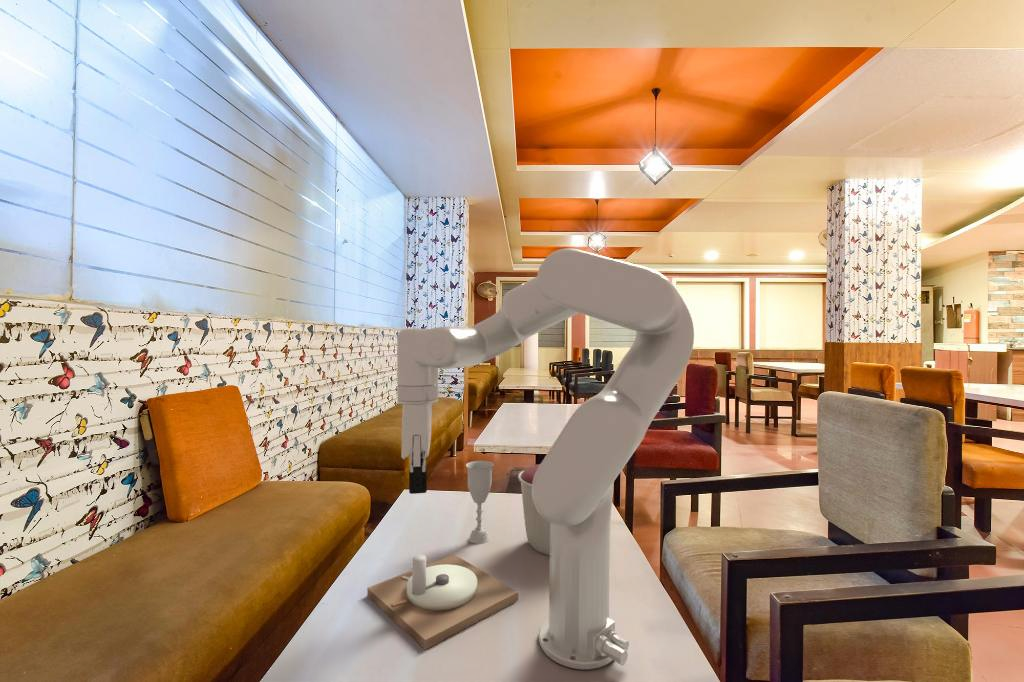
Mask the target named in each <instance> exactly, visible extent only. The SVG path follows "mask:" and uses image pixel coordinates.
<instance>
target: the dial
mask: <svg viewBox="0 0 1024 682" xmlns="http://www.w3.org/2000/svg"><path fill="white" fill-rule="evenodd" d="M426 565H427V557H426V555H424V554H418V555H415V556H413V557H412V566H411V567H412V569H411V571H412V576H411V577H410V578H409V580H408V582H407V598H408V600H409V601H410V602H411V603H412V604H413V605H415V606H417V607H419V608H422V609H427V610H448V609H453V608H456V607H459V606H462V605H464V604H466V603H467V602H469V601H470V600H471V599H472V598H473V597H474V596H475V594H476V592H477V577H476V575H475V574H474V573H473V572H472V571H471V570H469V569H467V568H465V567H462V566H458V565H449V564H446V565H435V566H430V567H427V568H426Z"/></svg>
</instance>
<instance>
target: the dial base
mask: <svg viewBox="0 0 1024 682" xmlns="http://www.w3.org/2000/svg"><path fill="white" fill-rule="evenodd" d="M446 564H449V565H458V566H462V567H465V568H467V569H469V570H471V571H472V572H473V573H474V574H475V575H476V577H477V592H476V594H475V596H474V597H473V598H472V599H471V600H470V601H469V602H467V603H466V604H464V605H462V606H459V607H456V608H453V609H448V610H427V609H422V608H419V607H417V606H415V605H413V604H412V603H411V602H410V601H409V600H408V598H407V582H408V580H409V578H410V577H411V576H412V570H409V571H408V572H404V573H402V574H400V575H396V576H394V577H392V578H390V579H386V580H384V581H382V582H379V583H377V584H373V585H371V586H369V587H367V590H366V591H367V592H366V593H367V594H366V595H367V597H368V598H369V599H370V600H371V601H372V602H373V603H374V604H376V605H377V606H378V608H380V609H381V610H382V611H383V612H384V613H385V614H386V615H388V617H389V618H391V619H392V621H394V623H396V624H397V625H398V626H400V627H401V629H402V630H404V631H405V632H406V634H408V635H409V636H410V637H411V638H412V639H414V641H415V642H416V643H418V645H420V646H421V647H422V648H423V649H424V650H427V649H429V648H431V647H433V646H435V645H437V644H439V643H440V642H443V641H444V640H446V639H448V638H450V637H451V636H453V635H455V634H457V633H459V632H461V631H463V630H465V629H467V628H468V627H470V625H471V626H472V625H474V624H476V623H478V622H480V621H482V620H484V619H485V618H487V617H489V616H491V615H493V614H494V613H495V614H496V613H497V612H498V611H501V610H503V609H504V608H506V607H508V606H510V605H513V604H514V603H515V602H517V601H519V592H518V590H515V589H513V588H512V587H510V586H508V585H507V584H505V583H503V582H502V581H500V580H498V579H497V578H495V577H493V576H492V575H490V574H488V573H487V572H485V571H483V570H482V569H480V568H478V567H476V566H474V565H473V564H471V563H470V562H468V561H466V560H465V559H463V558H462V557H460V556H458V555H456V554H454V553H453V554H452V555H448V556H446V557H444V558H441V559H438V560H436V561H433V562H430V563H428V564H426V568H427V567H430V566H435V565H446ZM479 620H480V621H479ZM477 621H478V622H477ZM475 622H476V623H475ZM473 623H474V624H473Z"/></svg>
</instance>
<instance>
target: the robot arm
mask: <svg viewBox="0 0 1024 682" xmlns="http://www.w3.org/2000/svg"><path fill="white" fill-rule="evenodd" d="M578 314H582V315H585V316H587V317H590V318H591V317H592V318H594V319H598V320H600V321H603V322H606V323H609V324H612V325H616V326H619V327H622V328H625V329H628V330H630V331H634V332H636V334H635V338H634V341H633V343H632V345H631V347H630V348H629V349H628V351H627V352H626V353H625V355H624V357H623V358H622V359H621V361H620V363H619V364H618V366H617V367H616V370H614V373H612V376H611V377H610V379H609V380H608V381H607V382H606V384H605V385H604V387H603V388H602V389H601V390H600V392H599V393H597V394H596V395H594V396H592V397H590V398H588V399H586V400H585V401H584V402H582V403H581V404H580V405H579V406H578V407H577V409H576V410H575V411H574V412H573V413H572V415H571V416H570V418H569V419H568V420H567V422H566V424H565V425H564V426H563V428H562V430H561V431H560V433H559V435H558V436H557V438H556V440H555V441H554V443H553V444H552V446H551V447H550V449H549V451H548V452H547V454H546V455H545V456H544V458H543V460H542V461H541V463H539V464H540V466H539V468H538V469H537V471H536V473H535V476H534V478H533V482H532V498H533V502H534V505H535V507H536V509H537V511H538V512H539V514H540V515H541V516H542V517H543V518H544V519H545V520H547V521H548V522H550V523H551V524H550V555H549V572H548V573H549V575H548V576H549V579H548V580H549V582H548V583H549V585H548V586H549V587H548V590H549V592H548V594H549V595H548V618H547V619H545V621H544V622H543V623H542V624H541V626H540V628H539V632H538V642H539V646H540V648H541V650H542V651H543V652H544V654H545V655H546V656H547V657H549V658H550V659H551V660H552V661H554V662H555V663H558V664H560V665H562V666H564V667H566V668H567V667H568V668H571V669H574V670H575V669H577V670H595V669H598V668H601V667H604V666H606V665H608V664H610V663H611V662H612V661H614V662H615V663H617V664H619V665H621V666H624V665H625V664H626V663H627V661H628V656H629V655H628V649H629V645H630V643H629V641H628V640H627V639H625V638H623V637H621V636H619V635H618V634H617V631H615V630H616V621H615V620H614V619H612V618H610V570H611V569H610V566H611V565H610V563H611V562H610V558H611V554H610V553H611V552H610V550H611V522H612V509H613V508H612V507H613V498H614V496H613V495H614V482H615V480H616V479H617V478H618V476H619V475H620V474H621V472H622V471H623V469H624V468H625V467H626V465H627V463H628V462H629V461H630V459H631V457H632V456H633V454H634V453H635V452H636V450H637V449H638V448H639V446H640V445H641V443H642V441H643V440H644V438H645V436H646V433H647V431H648V428H649V427H650V425H651V424H652V421H653V420H654V418H655V417H656V416H657V414H658V412H659V411H660V409H662V406H663V405H664V404H665V402H666V400H667V399H668V397H669V396H670V394H671V392H672V390H673V389H674V387H675V386H676V385H677V383H678V381H679V380H680V378H681V376H682V375H683V374H684V371H685V370H686V368H687V365H689V361H690V360H691V359H690V358H691V355H692V353H693V349H694V342H695V341H694V340H695V329H694V328H695V327H694V322H693V319H692V315H691V313H690V311H689V308H688V306H687V304H686V303H685V301H684V299H683V297H682V296H681V294H680V293H679V292H678V290H677V288H676V287H675V285H674V284H673V283H672V282H671V281H670V280H669V278H667V277H666V276H665V275H664V274H662V273H660V272H659V271H657V270H654V269H652V268H648V267H645V266H642V265H638V264H633V263H630V262H625V261H623V260H617V259H615V258H614V259H613V258H611V257H606V256H603V255H599V254H595V253H592V252H588V251H584V250H580V249H578V248H572V247H571V248H569V247H567V248H561V249H557V250H555V251H554V252H552V253H550V254H549V255H547V257H545V258H544V259H543V261H542V262H541V263H540V266H539V268H538V270H537V276H535V277H533V278H531V279H529V280H527V281H526V282H524V283H522V284H519V285H518V286H516V287H514V288H512V289H510V290H508V291H507V292H506V293H505V294H504V295H503V297H502V306H501V307H500V308H499V310H498V311H497V312H496V313H494V314H492V315H491V316H489V317H487V318H486V319H484V320H482V321H480V322H478V323H476V324H473V325H471V326H468V327H465V326H438V327H433V328H404V329H401V330H400V331H399V332H398V334H397V337H396V339H397V340H396V341H397V342H396V343H397V345H396V349H397V351H396V352H397V353H396V354H397V355H396V359H397V361H396V363H397V364H396V365H397V367H396V378H397V379H396V380H397V381H396V384H397V387H396V388H397V390H396V391H397V393H396V395H397V396H396V397H397V399H396V400H397V404H400V405H402V415H401V417H402V418H401V451H400V452H401V458H402V459H403V460H405V459H406V458H408V457H409V472H408V477H409V478H408V484H409V485H408V489H409V490H408V491H409V494H412V495H414V494H415V495H417V494H425V493H427V491H428V469H426V467H427V466H426V465H427V464H426V462H427V461H426V460H427V459H426V458H428V457H429V455H430V448H431V442H432V441H431V438H432V417H433V414H432V413H433V411H432V409H433V408H432V407H433V406H432V404H435V403H438V402H439V370H440V369H441V370H449V369H451V370H452V369H457V368H458V369H459V368H466V367H469V368H470V367H474V366H478V365H481V364H483V363H485V362H486V361H490V360H491V359H493V358H495V357H497V356H500V355H502V354H504V353H506V352H508V351H510V350H511V349H513V348H515V347H516V346H518V345H519V344H521V343H524V342H525V341H526V340H527V339H528V338H530V337H532V336H534V335H536V334H538V333H540V332H542V331H544V330H547V329H548V328H550V327H553V326H555V325H557V324H559V323H561V322H563V321H565V320H568V319H570V318H572V317H574V316H576V315H578Z"/></svg>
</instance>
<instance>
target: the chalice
mask: <svg viewBox="0 0 1024 682" xmlns="http://www.w3.org/2000/svg"><path fill="white" fill-rule="evenodd" d="M494 465H495V463H493V462H492V461H487V460H474V461H469V462H467V463H466V464H465V466H466V469H467V488H468V491H469V493H470V496H471V498H472V500H473V503H475V504H476V505H477V507H476V508H477V509H476V511H475V512H476V514H477V516H476V518H475V520H476V523H477V524H476V527H474V528H473V529H472V530H471V532H470V535H469V537H468V541H469V542H470V543H472V544H477V545H479V544H486V543H487V542H489V541H490V537H489V533H488V531H487V529H486V528H484V527H483V526H482V521H483V520H484V519H483V517H482V514H483V509H482V504H483V503H486V500H487V498H488V495H489V494H490V491H491V488H492V485H493V477H492V476H493V467H494Z"/></svg>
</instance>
